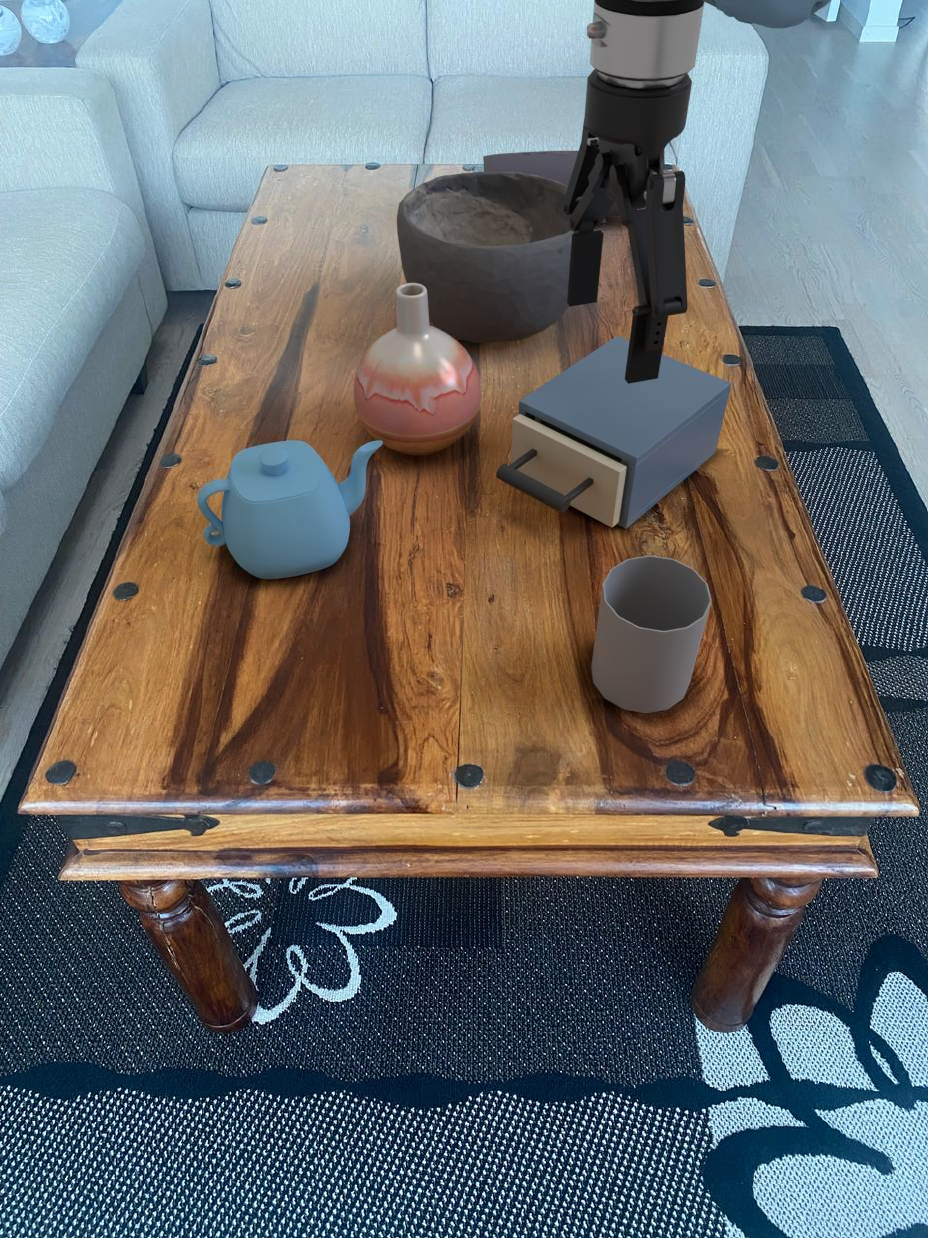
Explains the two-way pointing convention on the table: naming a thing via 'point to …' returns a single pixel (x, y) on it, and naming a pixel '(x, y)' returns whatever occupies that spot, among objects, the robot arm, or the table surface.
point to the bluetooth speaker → (538, 166)
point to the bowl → (488, 253)
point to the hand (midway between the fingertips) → (609, 338)
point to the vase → (416, 382)
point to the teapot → (285, 508)
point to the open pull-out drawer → (564, 470)
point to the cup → (649, 632)
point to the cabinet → (637, 419)
